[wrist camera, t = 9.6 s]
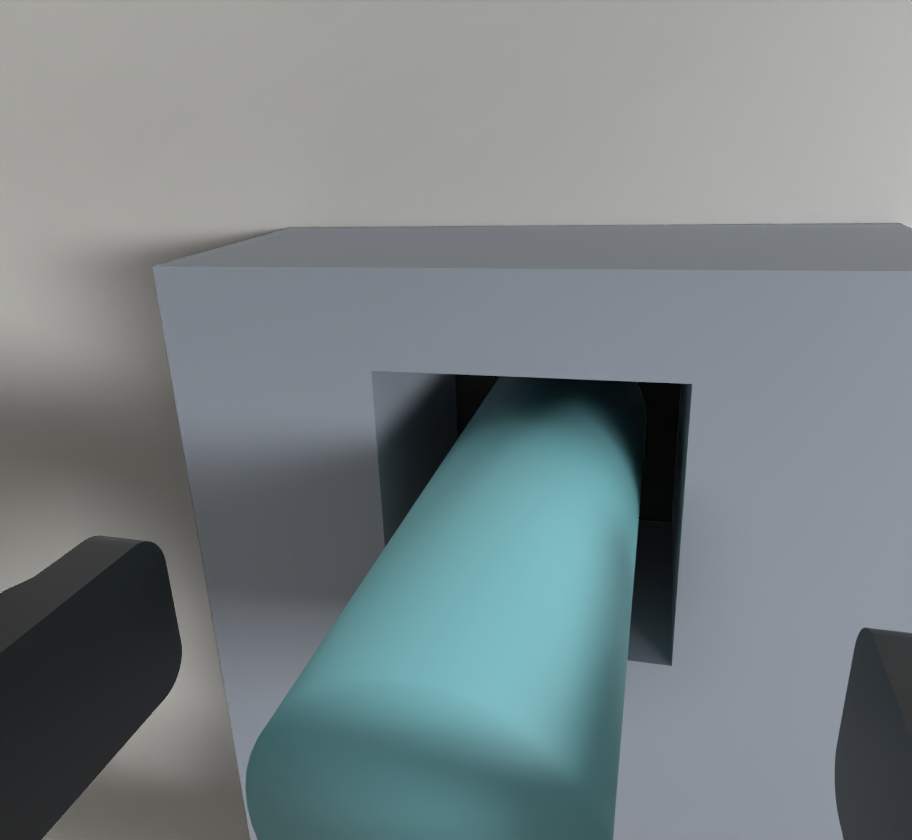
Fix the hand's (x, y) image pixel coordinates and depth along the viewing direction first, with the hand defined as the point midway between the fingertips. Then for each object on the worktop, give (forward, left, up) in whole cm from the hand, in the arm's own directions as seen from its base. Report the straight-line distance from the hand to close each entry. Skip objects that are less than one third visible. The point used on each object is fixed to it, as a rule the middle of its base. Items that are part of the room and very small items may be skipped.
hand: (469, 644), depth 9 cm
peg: (0, 0, -9) cm, 9 cm away
